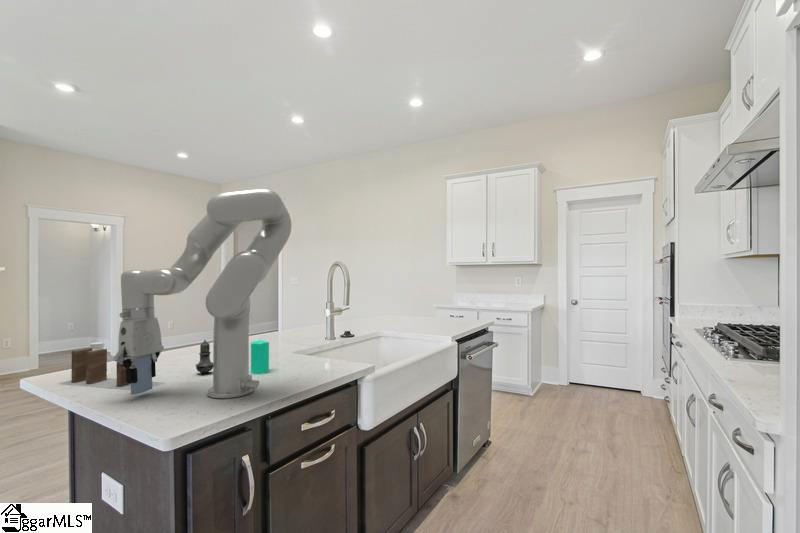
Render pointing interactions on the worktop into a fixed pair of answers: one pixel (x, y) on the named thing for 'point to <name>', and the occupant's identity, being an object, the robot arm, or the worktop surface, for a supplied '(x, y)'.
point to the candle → (259, 357)
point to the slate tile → (142, 375)
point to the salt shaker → (204, 360)
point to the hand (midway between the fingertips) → (141, 379)
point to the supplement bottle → (97, 345)
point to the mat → (106, 384)
